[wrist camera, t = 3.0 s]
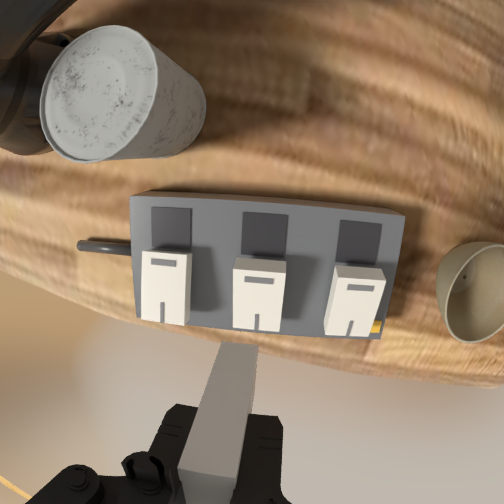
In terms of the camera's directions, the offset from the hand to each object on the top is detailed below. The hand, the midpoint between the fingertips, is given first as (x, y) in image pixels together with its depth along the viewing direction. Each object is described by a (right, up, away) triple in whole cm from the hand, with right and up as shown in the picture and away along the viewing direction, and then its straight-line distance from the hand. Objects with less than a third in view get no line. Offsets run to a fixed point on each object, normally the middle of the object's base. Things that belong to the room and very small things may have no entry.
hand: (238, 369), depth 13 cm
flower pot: (+23, +3, +17) cm, 29 cm away
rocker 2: (+1, +1, +13) cm, 14 cm away
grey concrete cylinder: (-8, +19, +15) cm, 26 cm away
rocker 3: (+9, +1, +13) cm, 16 cm away
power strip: (-3, +5, +19) cm, 19 cm away
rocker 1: (-7, +2, +14) cm, 16 cm away
